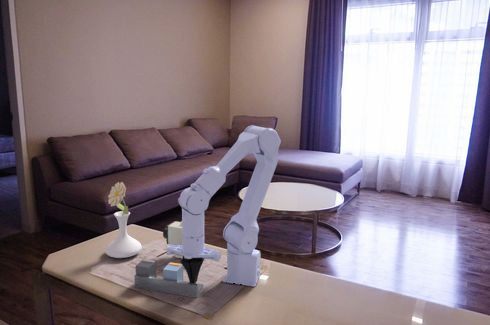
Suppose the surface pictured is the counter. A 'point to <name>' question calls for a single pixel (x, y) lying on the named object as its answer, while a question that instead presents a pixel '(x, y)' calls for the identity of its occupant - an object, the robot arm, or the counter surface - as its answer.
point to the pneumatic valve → (173, 234)
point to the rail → (162, 281)
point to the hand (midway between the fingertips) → (193, 281)
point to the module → (173, 272)
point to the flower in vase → (121, 227)
